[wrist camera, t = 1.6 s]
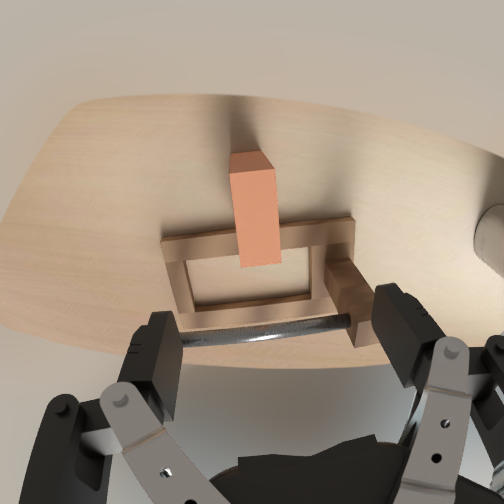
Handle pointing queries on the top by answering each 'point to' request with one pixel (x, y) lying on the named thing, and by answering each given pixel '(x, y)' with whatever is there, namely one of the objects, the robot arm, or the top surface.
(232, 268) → the top surface
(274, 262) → the salmon wooden arch
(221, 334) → the hook arm
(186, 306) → the wooden hook stand
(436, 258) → the top surface
